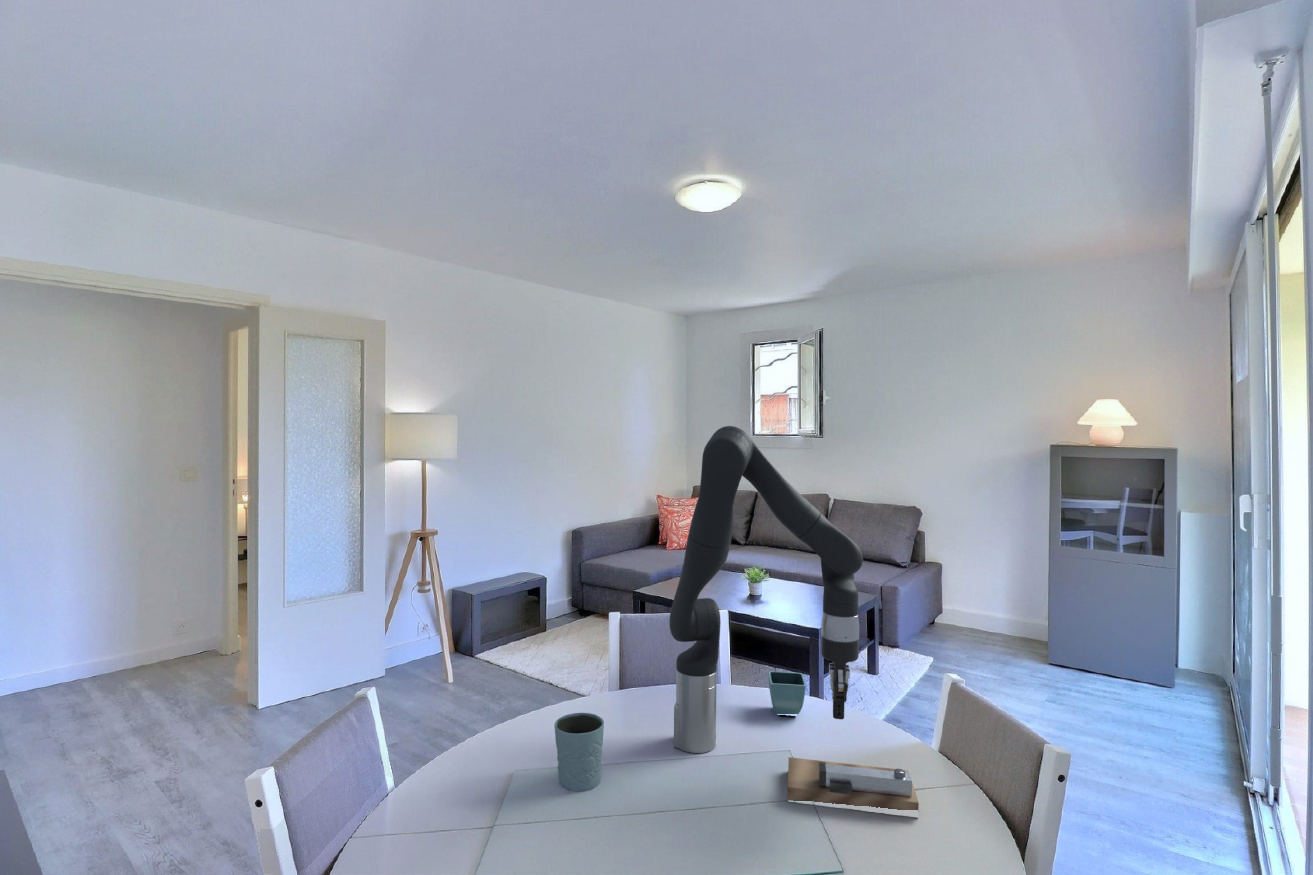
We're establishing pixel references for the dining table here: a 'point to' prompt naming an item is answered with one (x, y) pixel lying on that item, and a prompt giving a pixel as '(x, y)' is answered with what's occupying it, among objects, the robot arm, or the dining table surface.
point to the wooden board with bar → (839, 788)
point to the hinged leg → (867, 779)
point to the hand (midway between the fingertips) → (838, 717)
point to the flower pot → (787, 692)
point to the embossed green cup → (579, 751)
